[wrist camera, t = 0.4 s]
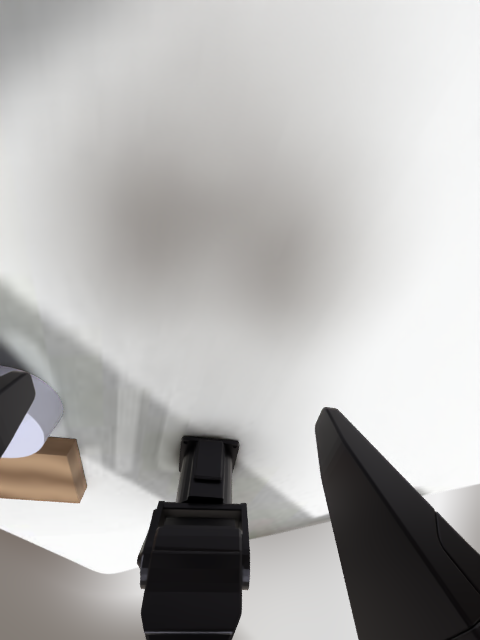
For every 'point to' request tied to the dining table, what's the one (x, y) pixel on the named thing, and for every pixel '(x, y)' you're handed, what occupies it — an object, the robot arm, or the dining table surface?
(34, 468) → the brown flat rectangular block
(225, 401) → the dining table surface
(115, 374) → the dining table surface
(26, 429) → the wedge on round base
